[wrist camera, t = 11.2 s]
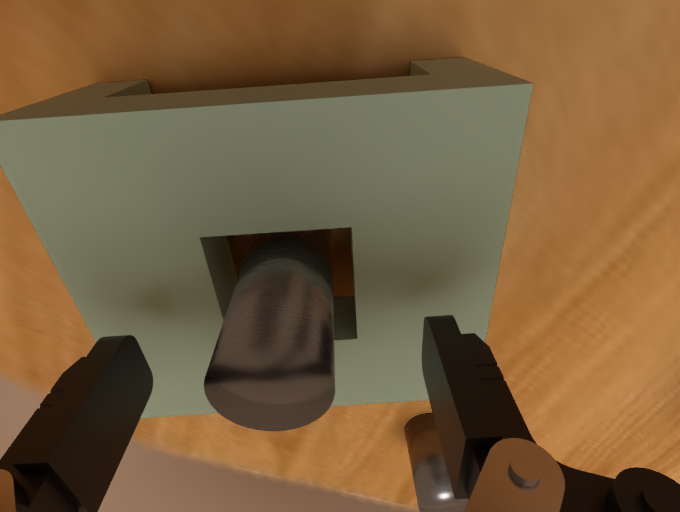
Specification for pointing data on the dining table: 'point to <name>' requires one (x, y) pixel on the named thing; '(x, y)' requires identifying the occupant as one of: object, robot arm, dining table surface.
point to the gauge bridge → (275, 209)
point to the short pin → (430, 467)
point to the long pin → (277, 335)
